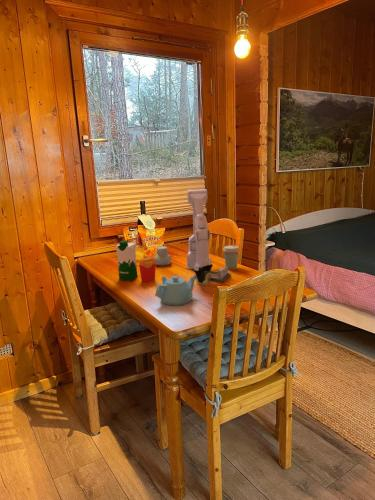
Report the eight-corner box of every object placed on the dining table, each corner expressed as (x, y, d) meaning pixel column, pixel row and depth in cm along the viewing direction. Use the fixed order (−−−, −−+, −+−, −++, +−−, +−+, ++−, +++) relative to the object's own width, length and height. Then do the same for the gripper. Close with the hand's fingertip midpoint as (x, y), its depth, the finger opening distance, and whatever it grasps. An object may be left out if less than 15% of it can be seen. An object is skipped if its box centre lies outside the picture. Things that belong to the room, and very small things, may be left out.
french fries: (141, 283, 180) (139, 259, 177) (139, 280, 184) (138, 257, 181) (158, 280, 183) (156, 257, 180) (155, 278, 187) (154, 255, 184)
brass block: (196, 283, 177) (196, 272, 176) (199, 281, 180) (199, 270, 178) (207, 285, 174) (207, 273, 173) (210, 283, 177) (210, 271, 176)
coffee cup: (238, 270, 194) (238, 249, 191) (222, 270, 196) (222, 248, 192) (239, 266, 202) (239, 245, 199) (224, 265, 204) (224, 244, 201)
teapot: (163, 293, 166) (162, 270, 164) (196, 294, 164) (195, 271, 161) (155, 306, 152) (153, 282, 149) (190, 308, 149) (189, 283, 147)
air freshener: (167, 267, 205) (167, 250, 202) (153, 267, 206) (152, 250, 204) (172, 261, 215) (171, 245, 213) (158, 261, 217) (157, 245, 214)
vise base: (192, 278, 184) (192, 268, 183) (202, 272, 193) (202, 262, 192) (222, 283, 177) (221, 272, 175) (230, 276, 186) (230, 265, 184)
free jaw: (217, 278, 179) (217, 270, 178) (224, 273, 185) (224, 266, 184) (221, 278, 178) (221, 270, 177) (227, 274, 184) (227, 266, 183)
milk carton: (116, 280, 186) (113, 242, 181) (125, 275, 194) (122, 238, 189) (132, 281, 183) (129, 243, 178) (140, 276, 191) (137, 238, 186)
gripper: (203, 258, 165) (204, 286, 169) (216, 250, 177) (217, 277, 181) (189, 256, 169) (190, 284, 172) (203, 249, 181) (204, 275, 184)
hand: (203, 280), depth 177 cm, fingers open, 5 cm apart
